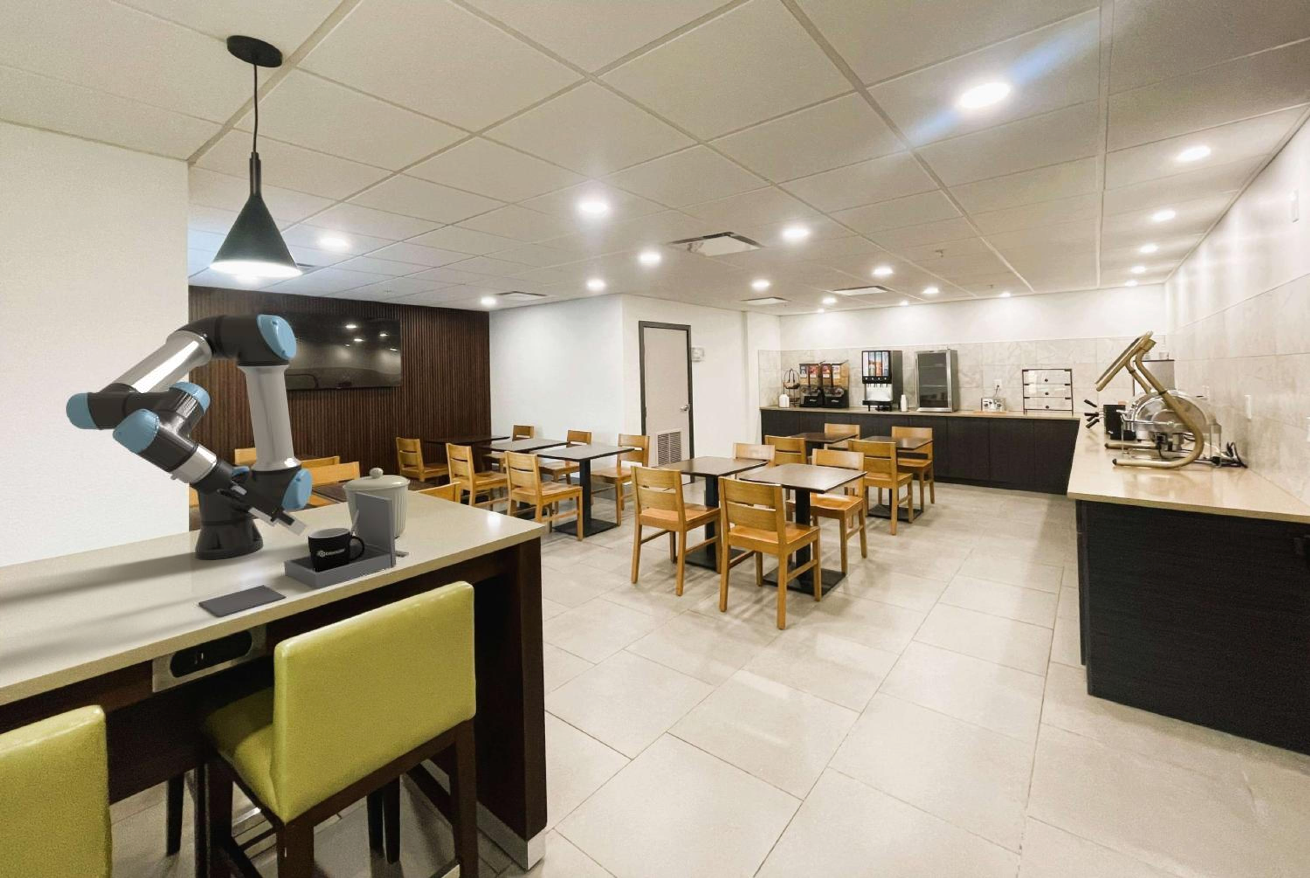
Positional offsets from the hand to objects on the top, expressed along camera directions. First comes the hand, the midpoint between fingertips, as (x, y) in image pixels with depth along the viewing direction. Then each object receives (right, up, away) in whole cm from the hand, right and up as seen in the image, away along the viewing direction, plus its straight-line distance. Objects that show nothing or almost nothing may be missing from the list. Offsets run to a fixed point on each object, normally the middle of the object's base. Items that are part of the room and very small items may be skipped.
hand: (289, 526), depth 129 cm
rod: (+12, -12, +24) cm, 29 cm away
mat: (-5, -15, -8) cm, 18 cm away
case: (+6, -13, +10) cm, 17 cm away
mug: (+6, -13, +10) cm, 17 cm away
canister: (+1, -10, +40) cm, 41 cm away
